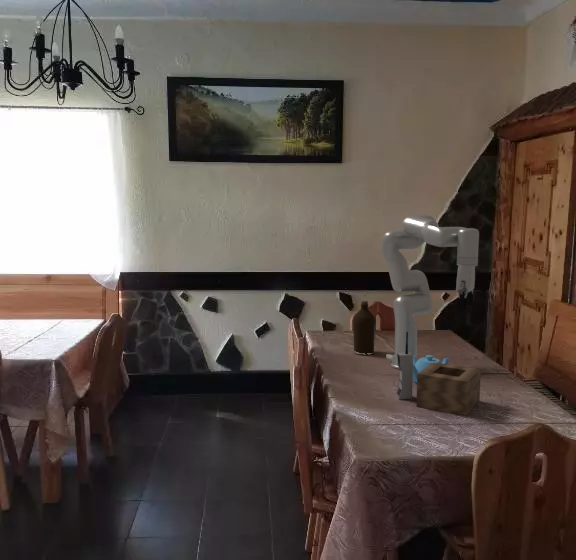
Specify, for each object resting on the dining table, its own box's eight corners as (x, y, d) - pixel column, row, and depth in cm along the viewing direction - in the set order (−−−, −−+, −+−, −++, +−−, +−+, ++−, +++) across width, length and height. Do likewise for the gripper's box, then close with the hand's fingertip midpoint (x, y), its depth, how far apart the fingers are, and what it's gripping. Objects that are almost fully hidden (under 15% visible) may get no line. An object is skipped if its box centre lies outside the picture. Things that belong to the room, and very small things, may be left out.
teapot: (407, 385, 236) (407, 359, 235) (410, 374, 250) (411, 349, 249) (447, 389, 232) (447, 362, 230) (448, 377, 246) (449, 352, 245)
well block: (416, 406, 212) (417, 373, 211) (432, 392, 227) (433, 362, 225) (465, 415, 203) (467, 381, 201) (479, 401, 218) (480, 369, 216)
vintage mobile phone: (396, 396, 223) (397, 330, 220) (409, 395, 224) (410, 330, 220) (398, 399, 220) (400, 333, 216) (412, 399, 220) (413, 332, 217)
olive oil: (356, 356, 279) (357, 303, 276) (349, 350, 290) (350, 300, 286) (378, 355, 282) (379, 302, 278) (370, 349, 292) (371, 299, 289)
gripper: (462, 258, 233) (460, 301, 236) (451, 263, 218) (449, 309, 221) (482, 259, 230) (480, 303, 232) (472, 264, 215) (470, 311, 217)
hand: (465, 306), depth 227 cm, fingers open, 9 cm apart
